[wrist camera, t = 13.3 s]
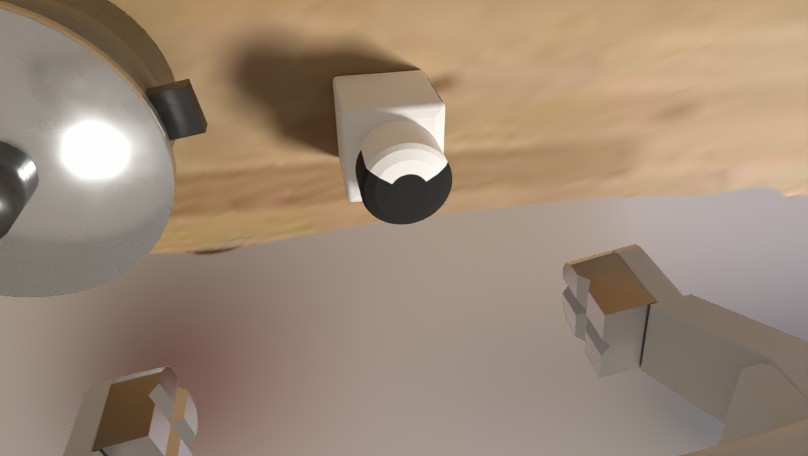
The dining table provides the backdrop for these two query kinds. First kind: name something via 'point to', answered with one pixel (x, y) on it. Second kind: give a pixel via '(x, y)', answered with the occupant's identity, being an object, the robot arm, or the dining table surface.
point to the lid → (74, 162)
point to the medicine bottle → (392, 144)
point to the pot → (129, 57)
